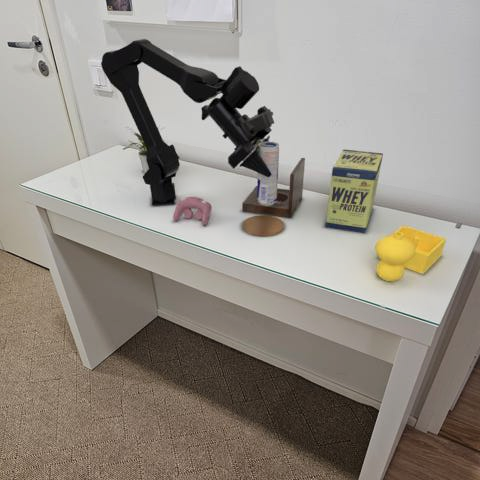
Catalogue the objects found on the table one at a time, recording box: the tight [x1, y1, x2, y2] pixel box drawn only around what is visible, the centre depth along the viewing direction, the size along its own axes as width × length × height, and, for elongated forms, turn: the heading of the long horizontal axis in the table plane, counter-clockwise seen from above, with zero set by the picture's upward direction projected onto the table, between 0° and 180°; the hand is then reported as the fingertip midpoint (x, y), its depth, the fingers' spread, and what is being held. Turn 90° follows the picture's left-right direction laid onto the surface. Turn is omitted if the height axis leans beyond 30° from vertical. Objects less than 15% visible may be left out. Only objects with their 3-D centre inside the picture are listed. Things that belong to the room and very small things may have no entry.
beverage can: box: [256, 141, 280, 206], centre depth 110 cm, size 5×5×15 cm
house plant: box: [125, 126, 166, 174], centre depth 143 cm, size 14×14×16 cm
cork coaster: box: [241, 214, 285, 237], centre depth 114 cm, size 11×11×1 cm
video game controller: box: [172, 196, 213, 227], centre depth 117 cm, size 10×5×7 cm, turn 71°
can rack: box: [242, 185, 302, 219], centre depth 124 cm, size 14×13×2 cm
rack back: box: [288, 157, 306, 219], centre depth 119 cm, size 1×13×12 cm, turn 161°
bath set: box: [375, 224, 447, 282], centre depth 95 cm, size 20×10×11 cm, turn 138°
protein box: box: [325, 149, 384, 234], centre depth 113 cm, size 10×16×16 cm
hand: (273, 172), depth 109 cm, fingers closed on beverage can, 5 cm apart
